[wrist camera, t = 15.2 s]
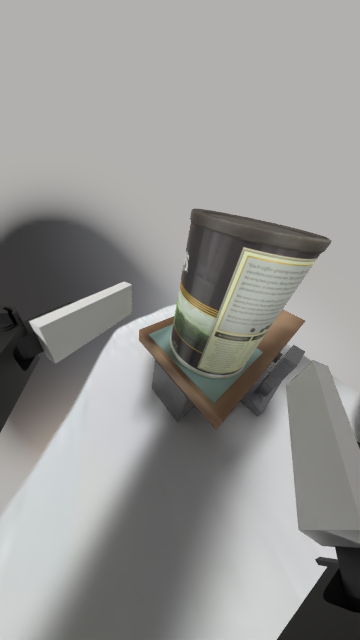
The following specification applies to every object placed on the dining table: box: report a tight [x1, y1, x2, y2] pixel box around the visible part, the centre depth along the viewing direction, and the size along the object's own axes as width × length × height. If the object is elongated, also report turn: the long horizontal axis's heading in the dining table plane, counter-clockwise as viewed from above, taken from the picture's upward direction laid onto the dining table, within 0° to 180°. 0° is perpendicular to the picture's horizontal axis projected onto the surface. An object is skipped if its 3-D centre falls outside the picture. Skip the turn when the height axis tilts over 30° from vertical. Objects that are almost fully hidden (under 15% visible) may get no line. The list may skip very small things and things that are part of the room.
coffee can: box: [170, 209, 331, 379], centre depth 17 cm, size 10×10×14 cm
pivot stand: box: [152, 345, 305, 422], centre depth 28 cm, size 20×28×10 cm
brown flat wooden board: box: [139, 309, 305, 430], centre depth 27 cm, size 15×28×2 cm, turn 132°
